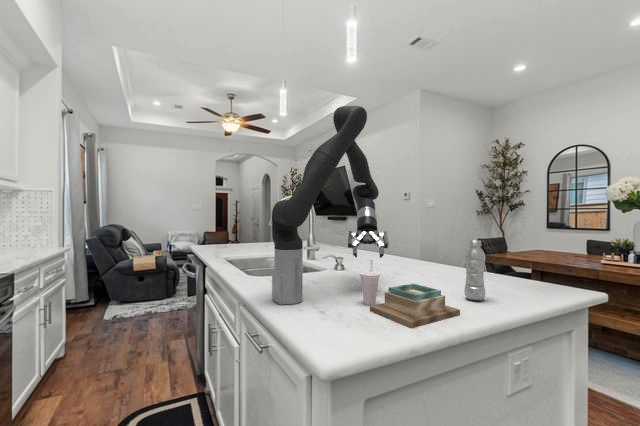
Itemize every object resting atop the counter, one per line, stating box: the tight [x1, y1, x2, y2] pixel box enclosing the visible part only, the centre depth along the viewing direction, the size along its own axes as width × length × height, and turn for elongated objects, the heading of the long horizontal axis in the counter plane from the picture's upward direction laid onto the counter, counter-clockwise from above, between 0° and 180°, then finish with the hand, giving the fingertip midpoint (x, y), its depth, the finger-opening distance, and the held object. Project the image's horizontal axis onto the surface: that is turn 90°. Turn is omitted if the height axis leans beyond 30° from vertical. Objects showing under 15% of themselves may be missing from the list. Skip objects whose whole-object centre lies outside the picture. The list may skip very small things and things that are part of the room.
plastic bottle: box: [464, 239, 487, 301], centre depth 108 cm, size 6×7×20 cm
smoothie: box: [359, 259, 381, 306], centre depth 103 cm, size 6×6×14 cm
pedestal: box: [369, 283, 461, 329], centre depth 94 cm, size 20×16×7 cm
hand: (368, 256), depth 111 cm, fingers open, 8 cm apart
